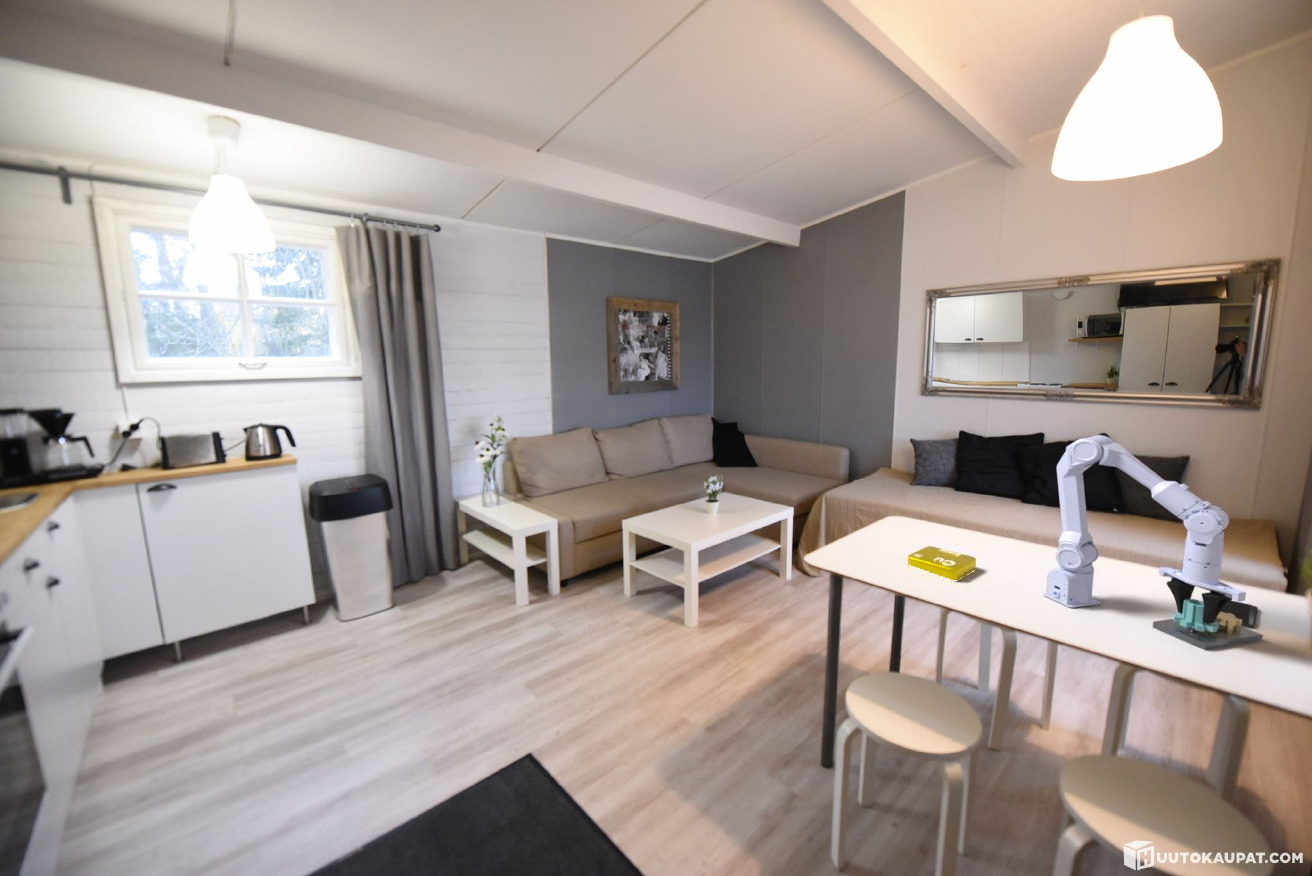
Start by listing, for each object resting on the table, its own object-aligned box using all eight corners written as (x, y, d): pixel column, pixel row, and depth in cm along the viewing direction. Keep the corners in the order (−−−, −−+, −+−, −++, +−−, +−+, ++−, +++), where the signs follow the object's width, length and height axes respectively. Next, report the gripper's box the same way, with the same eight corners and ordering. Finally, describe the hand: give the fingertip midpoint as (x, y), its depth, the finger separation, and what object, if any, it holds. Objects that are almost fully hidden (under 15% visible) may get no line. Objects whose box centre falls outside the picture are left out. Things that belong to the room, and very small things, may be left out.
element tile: (977, 571, 155) (978, 556, 154) (955, 584, 146) (956, 568, 146) (928, 557, 167) (928, 543, 166) (904, 569, 158) (905, 554, 158)
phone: (1258, 606, 125) (1254, 626, 116) (1257, 610, 126) (1254, 631, 116) (1211, 596, 132) (1204, 614, 123) (1210, 600, 132) (1204, 618, 123)
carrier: (1205, 650, 109) (1207, 627, 108) (1152, 627, 119) (1154, 606, 118) (1262, 641, 112) (1265, 618, 111) (1206, 619, 121) (1208, 598, 121)
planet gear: (1202, 634, 110) (1204, 611, 110) (1164, 619, 117) (1167, 597, 116) (1227, 630, 111) (1229, 608, 111) (1188, 615, 118) (1191, 594, 118)
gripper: (1259, 570, 106) (1252, 631, 108) (1177, 547, 120) (1172, 601, 122) (1233, 574, 105) (1226, 635, 106) (1154, 550, 119) (1148, 604, 121)
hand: (1195, 617), depth 114 cm, fingers closed on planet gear, 4 cm apart
